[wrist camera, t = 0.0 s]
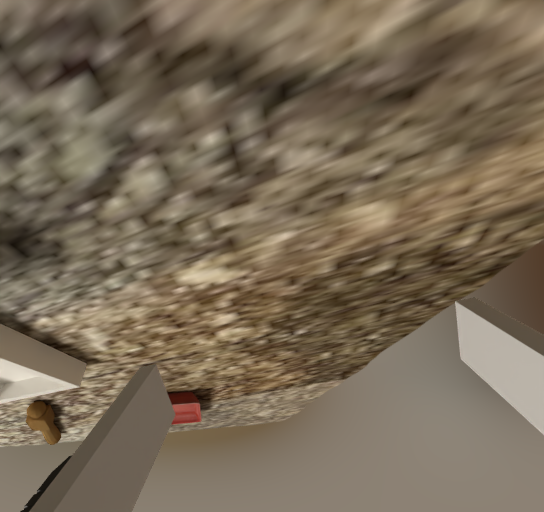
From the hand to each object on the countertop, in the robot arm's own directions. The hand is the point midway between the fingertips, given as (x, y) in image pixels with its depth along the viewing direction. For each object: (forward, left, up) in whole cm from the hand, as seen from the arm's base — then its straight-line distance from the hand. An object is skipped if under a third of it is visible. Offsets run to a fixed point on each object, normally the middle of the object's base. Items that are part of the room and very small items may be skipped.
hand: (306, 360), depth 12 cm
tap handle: (+48, -62, -16) cm, 80 cm away
